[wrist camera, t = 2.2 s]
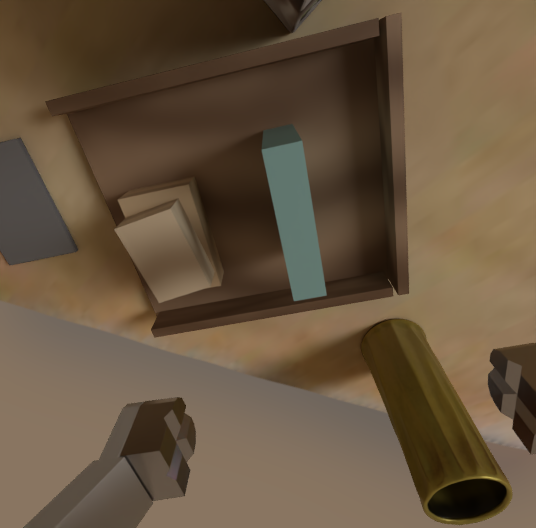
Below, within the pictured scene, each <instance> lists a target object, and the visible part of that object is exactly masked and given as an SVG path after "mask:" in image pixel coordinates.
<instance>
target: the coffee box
mask: <svg viewBox="0 0 536 528" xmlns="http://www.w3.org/2000/svg"><path fill="white" fill-rule="evenodd" d="M264 1H265V2H266V4H267V5H268V6H269V7H270V8H271V10H272V11H273V12H274V13H275V14H276V16H277V17H278V18H279V19H280V21H281V22H282V23H283V24H284V25H285V27H286V28H287V29H288V30H289V31H290V32H291V33H293V32H294V31H295V30H296V29H297V28H298V27H299V26H300V25H301V24H302V22H303V21H304V20H305V19H306V18H307V17H308V16H309V14H310V13H311V12H312V11H313V10H314V9H315V8H316V6H317V5H318V4H319V3H320V2H321V1H322V0H264Z"/></svg>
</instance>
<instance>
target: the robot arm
mask: <svg viewBox="0 0 536 528" xmlns="http://www.w3.org/2000/svg"><path fill="white" fill-rule="evenodd" d="M490 362H491V363H492V365H493V366H494V367H495V368H494V369H493V370H492V371H491V372H490V373H489V374H488V387H489V391H490V395H491V397H492V399H493V401H494V403H495V405H496V406H497V408H498V409H499V410H500V412H501V413H503V414H504V415H506V416H508V417H510V418H511V419H513V427H512V429H513V430H514V432H515V433H516V435H517V436H518V437H519V439H520V440H521V441H522V443H523V444H524V446H525V447H526V448H527V450H528V451H529V453H530V454H536V343H529V344H523V345H516V346H510V347H504V348H498V349H493V351H492V352H491V354H490ZM185 409H186V405H185V403H184V401H183V399H182V398H179V397H177V398H169V399H161V400H152V401H145V402H139V403H131V404H127V405H126V406H125V407H124V408H123V409H122V411H121V413H120V415H119V417H118V420H117V422H116V424H115V426H114V428H113V430H112V433H111V435H110V437H109V439H108V441H107V443H106V446H105V448H104V450H103V452H102V454H101V456H100V459H99V460H97V461H93V462H92V463H91V464H90V465H89V466H88V467H87V468H85V470H83V471H82V472H81V473H80V474H79V475H78V476H77V477H76V478H75V479H74V480H73V481H72V482H71V483H70V484H69V485H68V486H66V487H65V488H64V489H63V490H62V491H61V492H60V493H59V494H58V495H57V496H56V497H55V498H54V499H53V500H52V501H51V502H50V503H49V504H48V505H47V506H46V507H44V508H43V509H42V510H41V511H40V512H39V513H38V514H37V515H36V516H35V517H34V518H33V519H32V520H31V521H30V522H29V523H28V524H26V525H25V526H24V527H23V528H136V527H137V526H138V524H139V523H140V521H141V520H142V519H143V517H144V516H145V514H146V513H147V511H148V510H149V508H150V507H151V506H152V504H153V502H152V501H156V500H163V499H169V498H176V497H182V496H185V492H186V487H187V483H188V478H189V473H190V469H189V467H188V464H187V461H188V460H189V459H190V457H191V456H192V455H193V454H194V449H195V444H196V431H195V427H194V423H193V420H192V418H191V417H190V416H188V415H187V414H185V413H184V412H185Z"/></svg>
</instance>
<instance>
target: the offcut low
mask: <svg viewBox="0 0 536 528" xmlns="http://www.w3.org/2000/svg"><path fill="white" fill-rule="evenodd" d="M177 198H179V200H180V202H181V204H182V206H183V208H184V210H185V212H186V214H187V216H188V218H189V220H190V222H191V224H192V226H193V228H194V230H195V232H196V234H197V236H198V239H199V241H200V243H201V245H202V247H203V249H204V251H205V253H206V255H207V257H208V259H209V261H210V263H211V265H212V267H213V269H214V271H215V273H214V276H213V280H212V283H211V287H216V286H221V283H222V279H223V274H224V270H223V267H222V264H221V260H220V257H219V254H218V251H217V247H216V244H215V241H214V238H213V235H212V231H211V228H210V225H209V222H208V218H207V215H206V212H205V209H204V206H203V202H202V199H201V196H200V193H199V189H198V186H197V183H196V180H195V177H190V178H185V179H180V180H176V181H171V182H167V183H162V184H157V185H153V186H148V187H144V188H139V189H134V190H130V191H128V192H127V193H125V194H124V195H123V196H122V197H120V198H119V199H118V202H119V204H120V207H121V209H122V211H123V214H124V216H125V218H126V217H129V216H132V215H134V214H137V213H140V212H142V211H145V210H148V209H150V208H153V207H156V206H159V205H161V204H164V203H167V202H169V201H172V200H175V199H177ZM211 287H208V288H211ZM205 289H206V288H205Z"/></svg>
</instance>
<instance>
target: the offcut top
mask: <svg viewBox="0 0 536 528" xmlns="http://www.w3.org/2000/svg"><path fill="white" fill-rule="evenodd" d="M114 230H115V232H116V233H117V235H118V237H119V238H120V240H121V242H122V243H123V245H124V246H125V248H126V250H127V251H128V253H129V255H130V256H131V258H132V259H133V261H134V263H135V264H136V266H137V268H138V269H139V271H140V273H141V274H142V276H143V277H144V279H145V281H146V282H147V284H148V286H149V287H150V289H151V290H152V292H153V294H154V295H155V297H156V299H157V300H158V302H159V303H161V302H164V301H167V300H170V299H174V298H177V297H180V296H183V295H186V294H189V293H192V292H195V291H199V290H202V289H205V288H208V287H211V283H212V280H213V276H214V273H215V271H214V269H213V267H212V265H211V263H210V261H209V259H208V257H207V255H206V253H205V251H204V249H203V247H202V245H201V243H200V241H199V239H198V236H197V234H196V232H195V230H194V228H193V226H192V224H191V222H190V220H189V218H188V216H187V214H186V212H185V210H184V208H183V206H182V204H181V202H180V200H179V198H177V199H175V200H172V201H169V202H167V203H164V204H161V205H159V206H156V207H153V208H150V209H148V210H145V211H142V212H140V213H137V214H134V215H132V216H129V217H126V218H125V219H124V220H123V221H122V222H121V223H120V224H119V225H118V226H117V227H116V228H115V229H114Z"/></svg>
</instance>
